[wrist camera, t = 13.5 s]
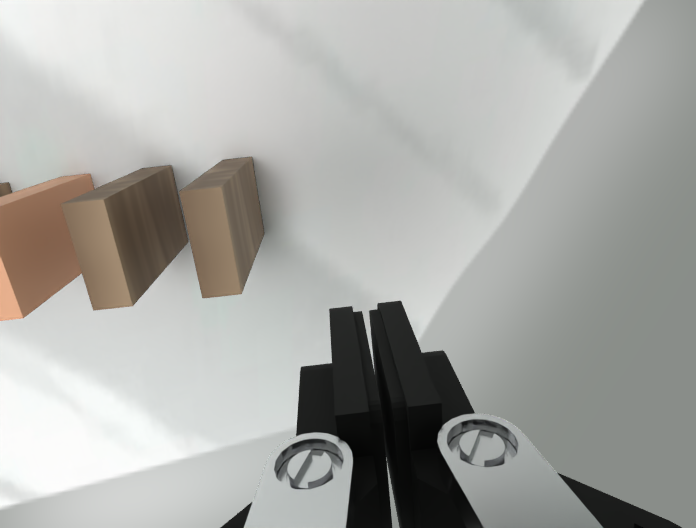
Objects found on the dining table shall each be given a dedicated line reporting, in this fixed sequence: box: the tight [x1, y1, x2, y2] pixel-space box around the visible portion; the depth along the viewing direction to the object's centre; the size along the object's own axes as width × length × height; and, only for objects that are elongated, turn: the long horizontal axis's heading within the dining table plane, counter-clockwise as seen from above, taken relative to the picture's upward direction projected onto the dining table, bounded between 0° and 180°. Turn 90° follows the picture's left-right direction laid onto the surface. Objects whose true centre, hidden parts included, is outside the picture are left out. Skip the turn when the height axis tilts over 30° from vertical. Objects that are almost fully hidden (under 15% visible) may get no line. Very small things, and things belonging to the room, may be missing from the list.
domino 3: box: [179, 157, 264, 298], centre depth 26 cm, size 2×5×10 cm, turn 6°
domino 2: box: [61, 165, 188, 310], centre depth 26 cm, size 2×5×10 cm, turn 6°
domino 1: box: [0, 174, 94, 321], centre depth 26 cm, size 2×5×10 cm, turn 5°
